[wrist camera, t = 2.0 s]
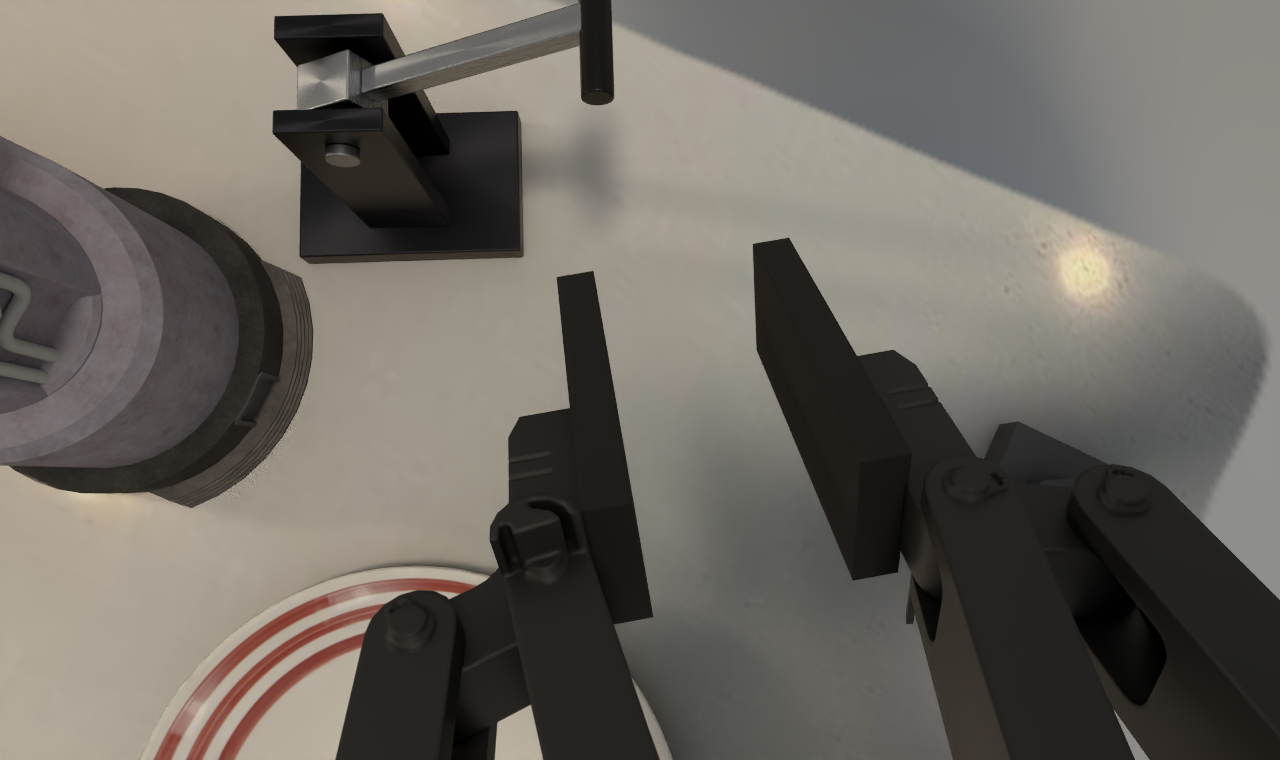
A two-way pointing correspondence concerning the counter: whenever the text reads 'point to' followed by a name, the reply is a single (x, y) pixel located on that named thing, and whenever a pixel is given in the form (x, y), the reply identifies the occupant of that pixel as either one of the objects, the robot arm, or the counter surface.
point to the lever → (467, 61)
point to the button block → (1037, 456)
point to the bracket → (397, 163)
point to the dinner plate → (310, 677)
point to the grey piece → (138, 339)
